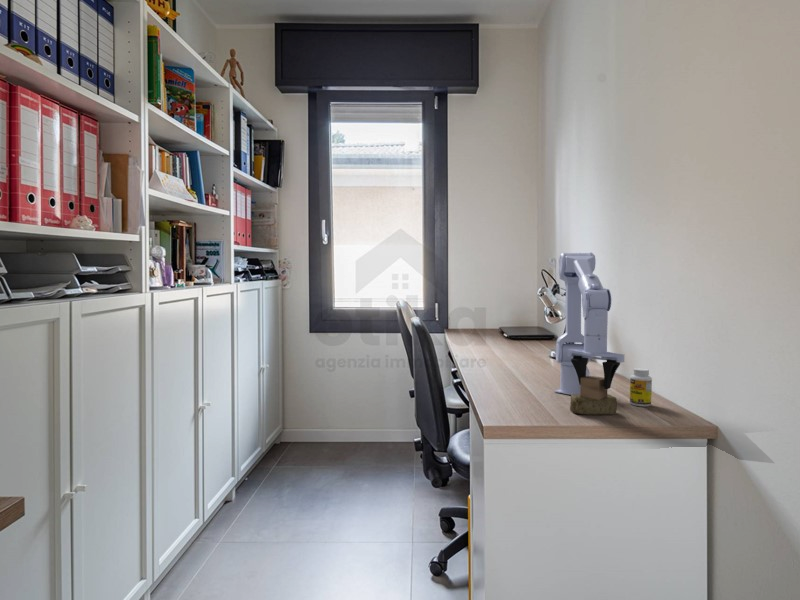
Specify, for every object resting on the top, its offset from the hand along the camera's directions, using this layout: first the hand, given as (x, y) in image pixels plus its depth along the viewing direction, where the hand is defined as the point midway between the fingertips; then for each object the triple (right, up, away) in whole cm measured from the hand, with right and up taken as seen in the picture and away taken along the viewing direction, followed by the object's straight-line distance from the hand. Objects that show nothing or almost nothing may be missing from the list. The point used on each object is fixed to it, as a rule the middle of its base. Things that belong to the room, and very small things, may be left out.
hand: (594, 386), depth 134 cm
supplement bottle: (+17, -7, +11) cm, 22 cm away
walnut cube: (0, -3, 0) cm, 3 cm away
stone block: (0, -8, +2) cm, 8 cm away
